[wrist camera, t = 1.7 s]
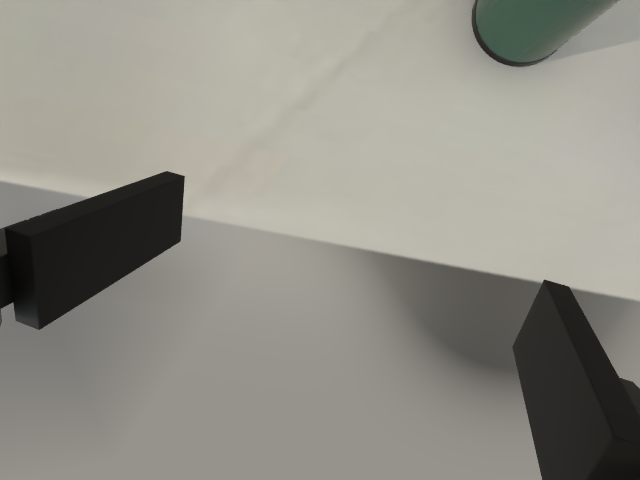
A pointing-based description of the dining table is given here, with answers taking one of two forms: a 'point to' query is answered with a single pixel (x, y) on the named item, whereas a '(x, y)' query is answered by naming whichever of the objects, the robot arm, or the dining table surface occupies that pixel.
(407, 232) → the dining table surface
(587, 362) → the robot arm
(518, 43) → the flask
